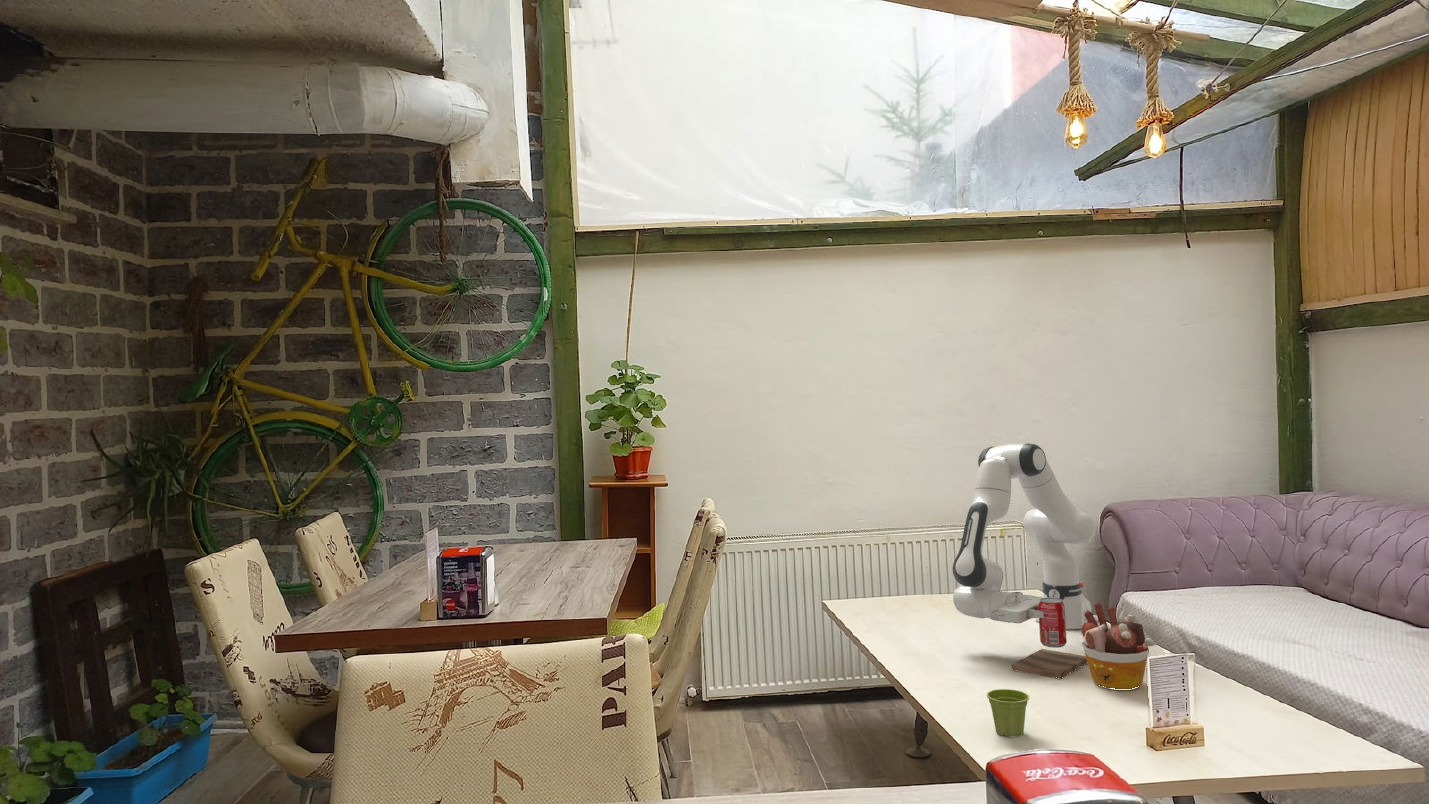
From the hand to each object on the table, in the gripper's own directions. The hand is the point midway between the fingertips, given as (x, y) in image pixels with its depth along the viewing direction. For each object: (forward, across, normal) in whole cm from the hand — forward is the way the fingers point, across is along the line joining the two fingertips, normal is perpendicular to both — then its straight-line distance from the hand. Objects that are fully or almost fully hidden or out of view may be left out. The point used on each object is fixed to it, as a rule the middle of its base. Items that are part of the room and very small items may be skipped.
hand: (1051, 613), depth 247 cm
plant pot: (+13, -54, +16) cm, 58 cm away
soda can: (0, 0, +9) cm, 9 cm away
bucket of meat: (+19, -5, +15) cm, 25 cm away
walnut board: (-1, 0, +15) cm, 15 cm away
